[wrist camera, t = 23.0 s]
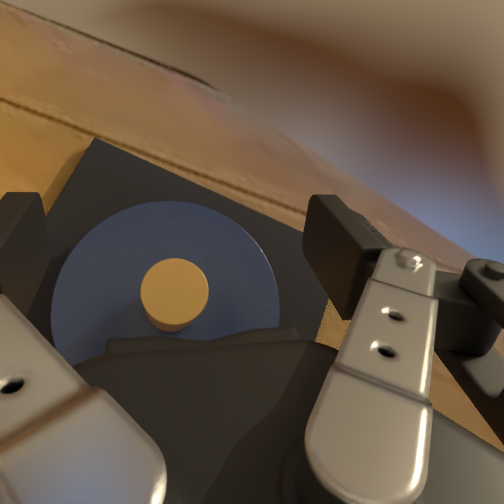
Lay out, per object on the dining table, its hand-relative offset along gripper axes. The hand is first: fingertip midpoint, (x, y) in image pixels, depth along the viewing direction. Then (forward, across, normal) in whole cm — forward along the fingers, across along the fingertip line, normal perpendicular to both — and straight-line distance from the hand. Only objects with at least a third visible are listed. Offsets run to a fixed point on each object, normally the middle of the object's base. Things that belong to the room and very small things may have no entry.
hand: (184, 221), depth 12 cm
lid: (+6, 0, +8) cm, 11 cm away
